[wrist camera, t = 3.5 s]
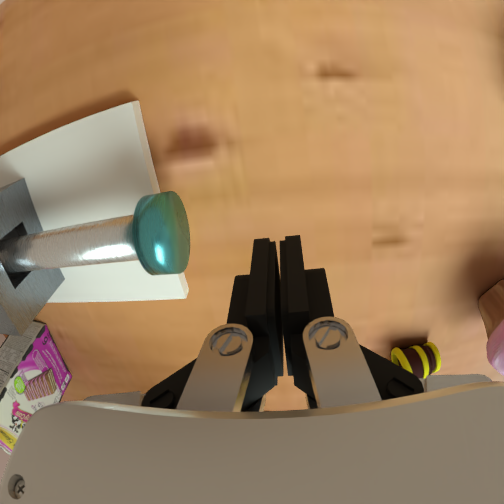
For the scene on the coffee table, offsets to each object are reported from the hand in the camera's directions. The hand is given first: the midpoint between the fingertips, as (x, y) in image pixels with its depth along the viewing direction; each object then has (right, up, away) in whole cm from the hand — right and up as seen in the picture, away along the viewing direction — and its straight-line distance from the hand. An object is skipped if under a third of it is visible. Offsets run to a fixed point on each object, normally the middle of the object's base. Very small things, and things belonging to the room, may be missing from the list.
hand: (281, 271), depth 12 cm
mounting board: (-20, +3, +13) cm, 24 cm away
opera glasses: (+16, -12, +19) cm, 28 cm away
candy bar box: (-29, -12, +23) cm, 39 cm away
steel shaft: (-16, +2, +10) cm, 19 cm away
